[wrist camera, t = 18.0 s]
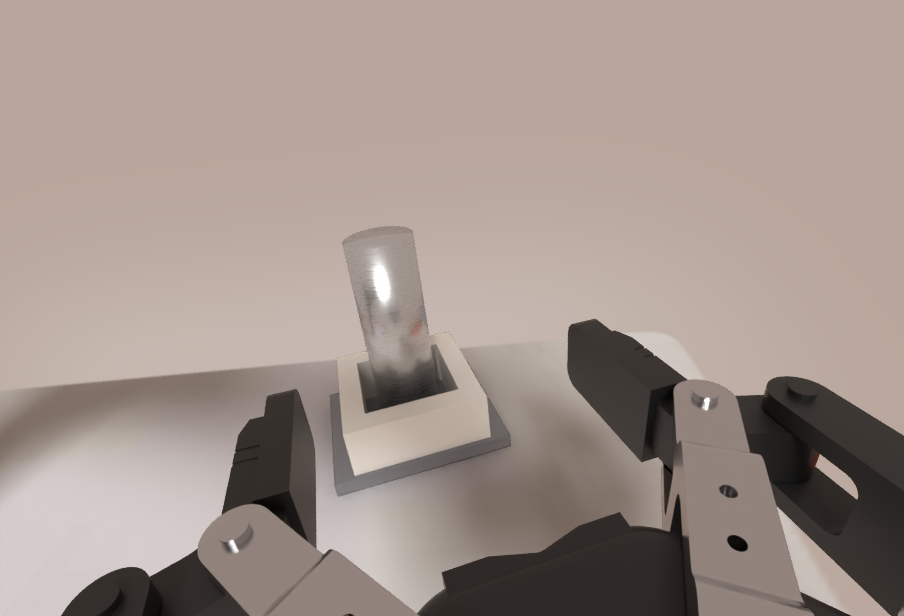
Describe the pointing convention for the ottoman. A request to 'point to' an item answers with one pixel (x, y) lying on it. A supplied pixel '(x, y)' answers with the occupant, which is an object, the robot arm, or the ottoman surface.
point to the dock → (409, 422)
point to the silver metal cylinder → (392, 313)
